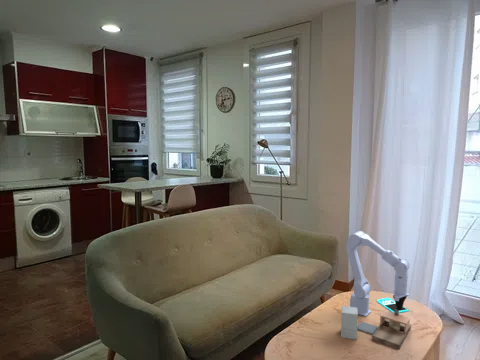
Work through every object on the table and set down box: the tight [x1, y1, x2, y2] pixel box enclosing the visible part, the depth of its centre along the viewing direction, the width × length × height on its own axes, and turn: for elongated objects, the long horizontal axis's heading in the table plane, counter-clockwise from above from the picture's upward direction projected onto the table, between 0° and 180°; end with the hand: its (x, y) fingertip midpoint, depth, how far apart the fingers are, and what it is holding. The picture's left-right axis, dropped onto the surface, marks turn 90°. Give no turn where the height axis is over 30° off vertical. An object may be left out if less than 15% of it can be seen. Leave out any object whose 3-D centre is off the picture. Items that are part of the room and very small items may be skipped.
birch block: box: [388, 320, 401, 331], centre depth 167 cm, size 4×4×6 cm
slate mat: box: [357, 321, 379, 336], centre depth 169 cm, size 8×8×1 cm
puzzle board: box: [371, 319, 412, 350], centre depth 164 cm, size 12×22×2 cm, turn 141°
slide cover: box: [379, 309, 411, 333], centre depth 166 cm, size 12×7×7 cm, turn 51°
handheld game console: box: [376, 297, 409, 314], centre depth 192 cm, size 10×16×1 cm, turn 16°
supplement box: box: [340, 305, 359, 341], centre depth 162 cm, size 7×7×13 cm
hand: (399, 309), depth 172 cm, fingers closed
